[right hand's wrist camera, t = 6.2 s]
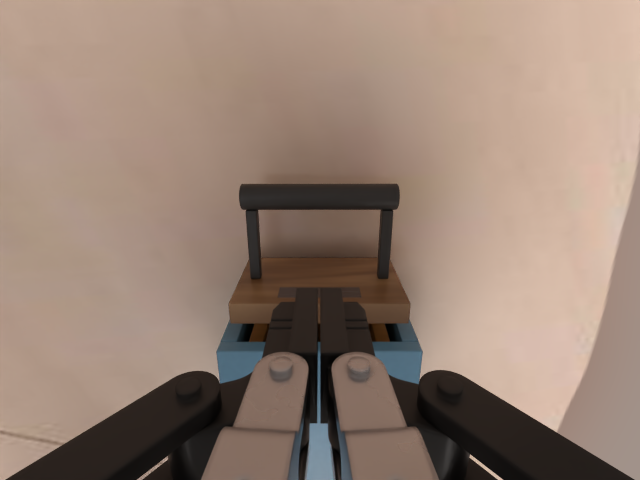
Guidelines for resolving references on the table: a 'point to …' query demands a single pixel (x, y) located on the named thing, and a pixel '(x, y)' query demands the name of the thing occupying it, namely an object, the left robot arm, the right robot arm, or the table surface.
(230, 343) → the cabinet
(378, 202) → the drawer
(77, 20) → the table surface
